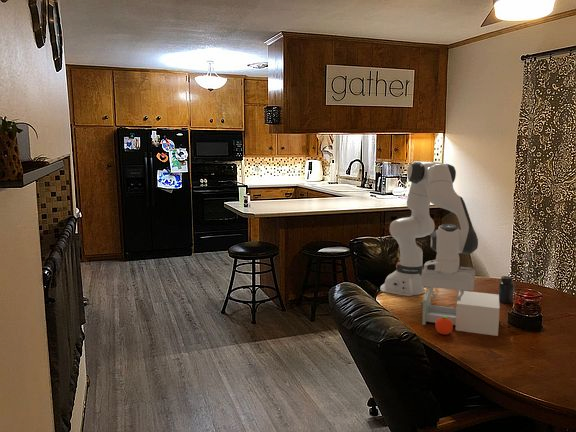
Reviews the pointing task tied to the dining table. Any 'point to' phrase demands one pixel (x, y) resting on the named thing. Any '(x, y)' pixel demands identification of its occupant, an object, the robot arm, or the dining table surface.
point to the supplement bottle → (506, 290)
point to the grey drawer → (436, 311)
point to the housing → (478, 313)
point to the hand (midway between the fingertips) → (446, 299)
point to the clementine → (444, 325)
